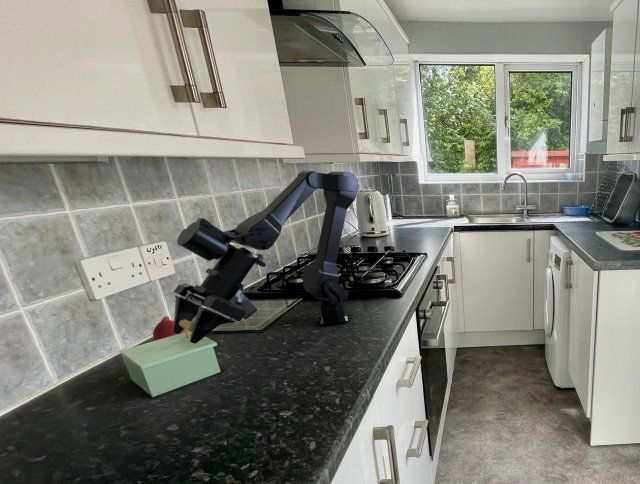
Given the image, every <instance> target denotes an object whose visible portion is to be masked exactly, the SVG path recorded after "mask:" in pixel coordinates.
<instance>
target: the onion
mask: <svg viewBox="0 0 640 484" xmlns="http://www.w3.org/2000/svg"><path fill="white" fill-rule="evenodd" d="M173 325H174V319H173V320H172V319H170V317H169V316H168V315H165V316H163V317H162V319H161V320H160V322H158V323H157V324H156V326H155V327H154V329H153V331H152V337H153V341H156V340H160V339H163V338H167V337H170V336H174V335H177V334H176V333H174V332H173ZM184 332H185V331H184V330H183V331H182V332H181V333H184ZM181 333H180V334H181Z"/></svg>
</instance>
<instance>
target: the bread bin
mask: <svg viewBox="0 0 640 484" xmlns="http://www.w3.org/2000/svg"><path fill="white" fill-rule="evenodd" d="M120 356H121V357H122V360H123V362H124V365H125V367H126V370H127V373H128V375H129V377H130V380H131V381H132V382H133V383H135V384H136V385H137V386H138V387H140V388H141V389H142V390H143V391H145V392H146V393H147V395H149V396H150V397H152V398H154V397H157V396H160V395H162V394H165V393H168V392H170V391H173V390H176V389H179V388H182V387H184V386H187V385H189V384H192V383H195V382H197V381H201V380H203V379H206V378H209V377H211V376H213V375H216V374H219V373H221V368H220V366H219V362H218V359H217V355H216V352H215V349H214V347H211V348H208V349H205V350H202V351H199V352H195V353H192V354H189V355H186V356H183V357H180V358H177V359H174V360H171V361H168V362H165V363H162V364H158V365H155V366H152V367H149V368H146V369H143V370H142V369H140V368H139V367H138V366H136V365H135V364H134V363H132V362H131V361H130V360H128V359H127V358H126V357H124V356H123V355H122V354H121V353H120Z"/></svg>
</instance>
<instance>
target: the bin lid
mask: <svg viewBox="0 0 640 484" xmlns="http://www.w3.org/2000/svg"><path fill="white" fill-rule="evenodd" d="M179 325H180V326H181V327H183V328H184V331H185V332H184V333H181V334H177V335H174V336H170V337H167V338H163V339H160V340H156V341H155V340H153V341H150V342H147V343H142V344H138V345H135V346H131V347H129V348H125V349H121V350H119V353H120V355H121V354H122V355H123V356H124V357H126V358H127V359H128V360H130V361H131V362H132V363H134V364H135V365H136V366H138V367H139V368H140V369H142V370H143V369H146V368H149V367H152V366H155V365H158V364H162V363H165V362H168V361H171V360H174V359H177V358H180V357H183V356H186V355H189V354H192V353H195V352H199V351H202V350H205V349H208V348H211V347H213V348H214V347H217V346H218V344H217V342H216V341H214V340H212V339H211V338H209V337H206V336H205V337H204V338H203V339H201V340H200V341H199V342H198V343H196V344H194V343H191V342H190V338H191V334H192V330H193V327H194V323H193V322H192V321H191V322H189V321H187V320H181V321H180V322H179ZM122 355H121V356H122Z"/></svg>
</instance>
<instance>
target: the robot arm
mask: <svg viewBox="0 0 640 484" xmlns="http://www.w3.org/2000/svg"><path fill="white" fill-rule="evenodd" d="M359 189H360V181H359V180H358V177H357V176H356V175H355V174H354V173H352V172H350V171H330V172H328V173H323V172H317V171H314V170H301V171H299V173H298V174H297V175H296V177H295V178H294V179H293V180H292V181H291V182H290V183H289V184H288V185H287V186H286V187H285V188H284V189H283V190H282V191H281V192H280V193H279V194H278V195H277V196H276V197H275V198H274V199H273V200H272V201H271V202H270V203H269V204H268V205H267V206H266V207H265V208H264V209H262V210H261V211H259V212H257V213H255V214H253V215H251V216H249V217H247V218H245V219H244V220H243V221H241V222H240V223H238V224H237V226H236V227H235V228H233V229H227V230H225V231H223V230H222V229H220V228H219V227H217V226H215V225H213V223H212V222H211V221H209V220H208V219H206V218H204V217H198V218H197V219H196V221H194V222H192V223H191V224H189V225H188V226H187V227H186V228H183V230H182V231H181V232H180V234H179V235H178V237H177V240H176V244H177V245H178V246H179V247H181V248H183V249H185V250H187V251H189V252H191V253H193V254H195V256H198V257H199V258H202V259H203V260H205V261H207V262H210V261H213V260H216V263H215V264H214V266H213V267H212V268H210V267H208V268H206V270H205V273H206V274H207V275H206V277H205V278H204V280H203V281H202V282H201V284H200V285H198V284H196V285H195V286H194V285H192V284H189V283H186V282H185V283H179V284H178V285H177V286H176V288H175V289H174V290H173V293H175V295H174V299H175V302H174V305H175V306H174V318H173V321H174V325H173V332H174V333H176V334H180V333H181V332H182V331H183V330H184V328H183V327H181V326H180V325H179V322H180V321H181V320H187V321H189V322H191V323H192V321H193V320H194V319H195V320H194V323H193V324H194V327H193V330H192V334H191V338H190V342H191V343H194V344H196V343H198V342H199V341H200V340H201V339H203V338H204V337H206V336H208V335H209V334H210V333H212V332H213V331H214V330H215V329H216V328H218V327H220V326H221V325H226V324H234V323H235V321H237V322H241V321H242V320H245V321H247V320H248V319H249V318H250V317H251V316H253V315H254V314H255V313H256V312H258V311H259V310H258V309H257V307H256V306H255V305H254V304H253V303H252V302H251V301H250V300H249V298H248V297H247V296H246V295H244V293H243V291H244V289H245V285H244V284H242V282H243V281H244V280H245V279H246V277H247V276H248V274H249V273H250V271H251V270H252V268H253V267H254V265H256V266H259V267H261V268H262V267H263V268H265V267H267V264H266V261H265V259H264V254H263V253H262V254H261V253H254V252H252V251H250V250H249V249H253V250H258V251H267V250H269V249H271V248H273V246H274V245H275V243H276V242H277V240H278V239H279V237H280V235H281V233H282V228H283V226H284V224H285V223H286V222H287V221H288V220H289V218H290V217H291V216H292V215H293V214H294V213H295V212H296V211H297V210H298V209H299V208H300V207H301V206H302V205H303V204H304V203H305V201H307V199H309V198H310V196H311V195H312V194H313V193H315V191H316V190H323V191H322V193H323V196H324V200H325V210H324V215H323V219H322V220H323V221H322V225H321V229H320V235H319V238H318V239H319V240H318V245H317V249H316V254H315V259H314V260H313V262H312V263H311V264H304V266H303V274H302V277H301V278H300V280H301V281H302V287H303V288H304V290H305V291H306V292H307V293H308V294H310V295H311V296H312V298H313V299H317V300H318V303H319V308H320V313H321V317H320V318H321V319H320V323H319V324H320V326H330V325H331V326H332V325H338V324H339V325H340V324H345V323H346V324H347V323H348V313H347V312H345V306H344V301H347V300H348V299H349V293H350V291H349V290H347V289H346V288H344V287H343V286H341V285H340V284H339V279H340V275H339V271H338V268H337V259H338V255H339V250H340V245H341V240H342V236H343V231H344V226H345V221H346V216H347V211H348V209H349V208H350V207H351V205H352V204H353V203H354V202H355V200H356V198H357V195H358V192H359ZM233 244H236V245H239V246H240V245H241V246H242V247H238V248H237V247H236V246H235V245H233ZM176 294H177V295H176ZM232 319H233V320H232ZM234 320H235V321H234Z"/></svg>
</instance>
